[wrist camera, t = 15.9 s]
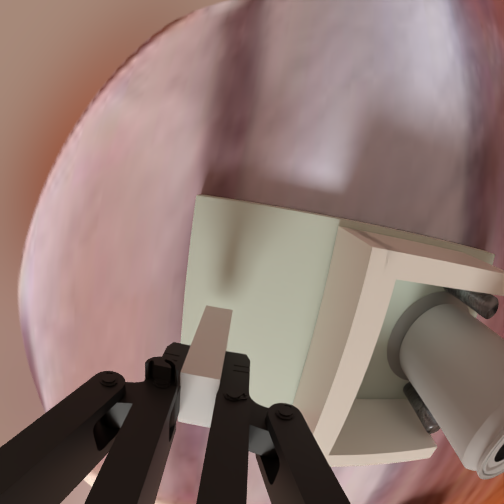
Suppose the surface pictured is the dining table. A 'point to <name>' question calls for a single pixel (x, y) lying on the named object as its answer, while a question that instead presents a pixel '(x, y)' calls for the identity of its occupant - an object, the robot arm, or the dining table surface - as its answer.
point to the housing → (372, 345)
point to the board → (291, 291)
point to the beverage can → (460, 383)
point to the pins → (481, 305)
